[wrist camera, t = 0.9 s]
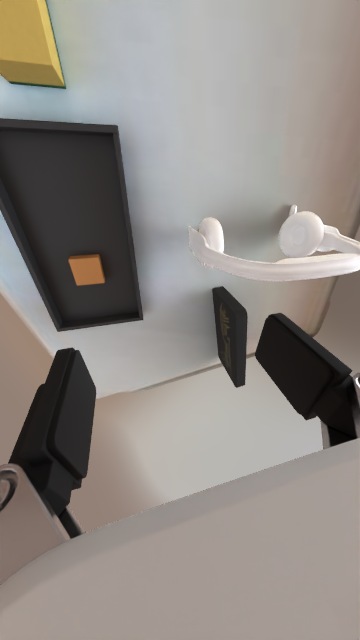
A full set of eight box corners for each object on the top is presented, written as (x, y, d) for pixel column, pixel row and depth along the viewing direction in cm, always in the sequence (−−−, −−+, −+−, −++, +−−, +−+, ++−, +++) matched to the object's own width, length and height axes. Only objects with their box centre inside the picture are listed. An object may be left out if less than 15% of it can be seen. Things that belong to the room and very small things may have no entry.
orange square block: (70, 255, 28) (67, 259, 27) (99, 253, 29) (98, 257, 27) (78, 281, 30) (76, 285, 29) (105, 279, 31) (104, 283, 30)
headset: (182, 257, 33) (229, 314, 19) (182, 210, 29) (242, 237, 15) (284, 247, 37) (386, 288, 23) (296, 204, 32) (431, 220, 18)
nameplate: (225, 355, 50) (244, 386, 43) (218, 357, 50) (237, 389, 42) (220, 284, 38) (247, 311, 30) (212, 287, 38) (236, 314, 30)
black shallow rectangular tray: (-28, 122, 20) (-45, 115, 17) (117, 130, 22) (117, 125, 20) (61, 323, 34) (57, 332, 32) (142, 312, 37) (143, 320, 35)
